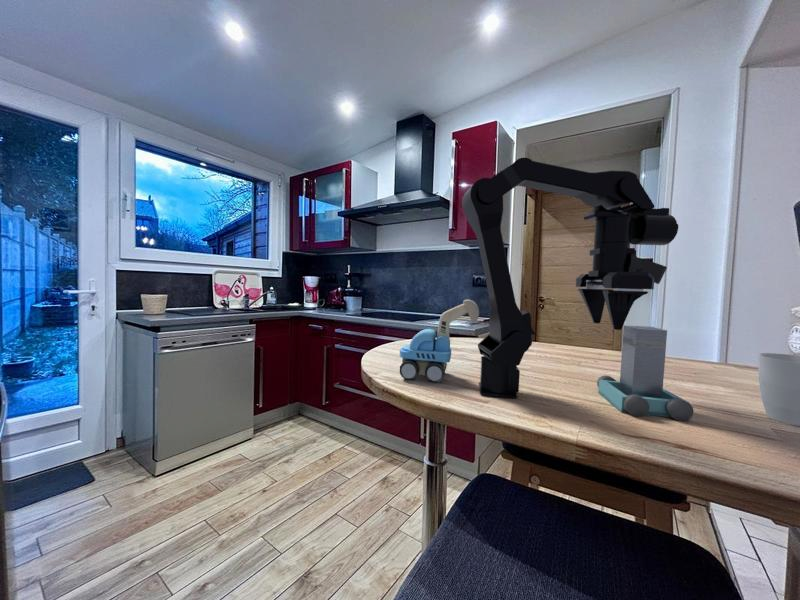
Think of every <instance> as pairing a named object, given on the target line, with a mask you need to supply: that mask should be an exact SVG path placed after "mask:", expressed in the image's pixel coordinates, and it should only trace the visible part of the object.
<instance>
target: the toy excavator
mask: <svg viewBox="0 0 800 600" xmlns="http://www.w3.org/2000/svg"><path fill="white" fill-rule="evenodd" d="M466 314H468V317H469V319H470V323H471V324H474V323H475V322H476V321H477V320H478V319H479V317H480V309H479V306H478V305H477V303H476V302H475V301H474V300H472V299H464V300H463V303H462V304H459V305H456V306H454V307H452V308H450V309H448V310H446V311H444V312H443V313H441V315H440V318H439V321H438V328H437V331H436V330H435V329H433V328H425V329H423V330H420V331H419V332H417V334H415V335H414V336H413V337H412V338H411V340H410V342H409V343H410V344H406V345H403V346H402V347H401V348H399V357H400V358H402V363H401V364H400V366H399V374H400V376H401V378H403V379H404V380H414V379H416V378H417V377H418V376H425V378H426V380H427V381H428V382H430V381H432V383H433V384H438V383H441V381H442V380H443V379H444V377H445V375H446V370H447V367H448V366H447V365H448V363H450V362H451V358H452V348H451V339H450V324H451V323H452V322H453V321H455V320H457V319H458V318H461V317H463V316H464V315H466Z"/></svg>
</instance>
